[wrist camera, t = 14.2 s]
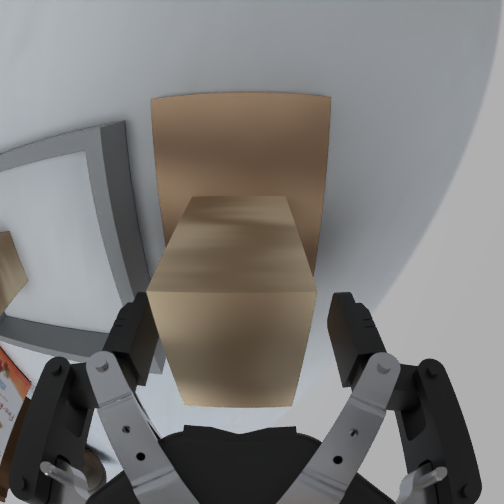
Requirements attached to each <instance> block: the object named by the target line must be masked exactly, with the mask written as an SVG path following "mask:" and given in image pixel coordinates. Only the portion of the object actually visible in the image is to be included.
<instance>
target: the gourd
mask: <svg viewBox="0 0 504 504" xmlns="http://www.w3.org/2000/svg"><path fill="white" fill-rule="evenodd" d="M81 472H82V473H83V474H84V476H85V478H86V480H87V485H88V494H89V496H91V495H92V494H93V493H95V492H96V491H97V490H99V489H100V488H101V487H103V486H104V485H105V484H106V471H105V468H104V467H103V465H102V463H101V461H100V460H99V459H98V458H97V456H95V455H94V454H93V453H92V452H91V451H89V450H88V449H86V448H85V451H84V456H83V461H82V467H81Z"/></svg>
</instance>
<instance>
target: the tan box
mask: <svg viewBox="0 0 504 504" xmlns="http://www.w3.org/2000/svg"><path fill="white" fill-rule="evenodd" d="M146 292H147V296H148V300H149V303H150V307H151V310H152V314H153V317H154V320H155V324H156V327H157V330H158V333H159V336H160V339H161V342H162V345H163V348H164V351H165V354H166V357H167V360H168V363H169V366H170V368H171V371H172V374H173V377H174V379H175V382H176V384H177V387H178V390H179V392H180V395H181V397H182V400H183V402H184V405H190V406H205V407H231V408H260V407H286V406H292V404H293V400H294V397H295V393H296V389H297V385H298V381H299V377H300V372H301V368H302V364H303V360H304V355H305V351H306V346H307V342H308V337H309V332H310V327H311V322H312V317H313V312H314V307H315V302H316V296H317V289H316V286H315V282H314V279H313V276H312V273H311V270H310V267H309V264H308V261H307V257H306V254H305V251H304V248H303V245H302V242H301V239H300V236H299V233H298V231H297V228H296V225H295V222H294V219H293V216H292V213H291V210H290V208H289V205H288V202H287V199H286V196H202V197H192V198H191V199H190V201H189V203H188V205H187V207H186V209H185V211H184V213H183V215H182V217H181V219H180V221H179V223H178V225H177V227H176V229H175V231H174V233H173V235H172V237H171V239H170V241H169V243H168V245H167V247H166V249H165V251H164V253H163V255H162V257H161V260H160V262H159V264H158V266H157V268H156V270H155V273H154V275H153V277H152V279H151V281H150V284H149V286H148V288H147V290H146Z"/></svg>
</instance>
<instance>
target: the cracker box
mask: <svg viewBox="0 0 504 504" xmlns="http://www.w3.org/2000/svg"><path fill="white" fill-rule="evenodd" d="M30 386H31V383H30V382H29V381H28V380H27V379H26V377H25V376H24V375H23V374H22V373H21V372H20V371H19V370H18V368H17V367H16V366H15V365H14V364H13V363H12V361H11V360H10V359H9V358H8V357H7V355H6V354H5V353H4V352H3V350H2V349H1V348H0V464H1V460H2V457H3V454H4V451H5V448H6V445H7V442H8V439H9V436H10V434H11V431H12V428H13V426H14V423H15V421H16V418H17V416H18V413H19V411H20V408H21V406H22V404H23V401H24V399H25V397H26V395H27V392H28V390H29V388H30Z"/></svg>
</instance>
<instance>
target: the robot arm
mask: <svg viewBox="0 0 504 504" xmlns="http://www.w3.org/2000/svg"><path fill="white" fill-rule="evenodd" d="M327 327H328V332H329V336H330V339H331V343H332V347H333V351H334V355H335V358H336V362H337V366H338V370H339V374H340V378H341V382H342V386H343V387H351V389H352V394H351V396H350V397H349V399H348V401H347V403H346V404H345V406H344V408H343V410H342V412H341V413H340V415H339V417H338V418H337V420H336V421H335V423H334V425H333V426H332V428H331V430H330V432H329V433H328V434H327V436H326V437H325V439H324V440H323V442H321V441H319V440H317V439H315V438H313V437H311V436H308V435H305V434H301V433H297V432H296V426H293V427H277V428H275V427H274V428H265V429H261V430H257V431H253V432H249V433H244V434H235V433H231V432H228V431H224V430H220V429H216V428H213V427H203V426H191V425H184V430H183V431H182V432H177V433H173V434H170V435H168V436H166V437H164V438H162V437H161V436H160V434H159V433H158V431H157V430H156V428H155V427H154V425H153V423H152V422H151V420H150V418H149V416H148V415H147V413H146V411H145V409H144V407H143V405H142V404H141V402H140V400H139V398H138V396H137V394H136V392H135V391H136V387H137V385H141V386H146V382H147V378H148V374H149V371H150V367H151V363H152V360H153V356H154V353H155V349H156V346H157V342H158V339H159V333H158V330H157V327H156V324H155V320H154V317H153V314H152V310H151V307H150V303H149V300H148V296H147V292H138V293H137V294H136V296H135V299H134V301H133V302H128V303H127V304H126V305H125V306H124V307H123V308H121V309H120V311H119V314H118V316H117V319H116V320H115V322H114V324H113V326H112V329H111V331H110V333H109V335H108V338H107V340H106V342H105V344H104V347H103V349H102V351H100V352H97V353H95V354H93V355H92V356H91V357H90V358H89V359H88V361H87V362H85V363H77V364H70V363H69V361H68V360H67V359H66V358H64V357H60V356H59V357H54V358H52V359H50V360H49V361H48V362H47V363H46V365H45V367H44V369H43V371H42V374H41V376H40V379H39V381H38V383H37V386H36V388H35V391H34V394H33V396H32V399H31V401H30V404H29V407H28V410H27V413H26V416H25V419H24V422H23V425H22V428H21V431H20V434H19V438H18V441H17V445H16V448H15V452H14V456H13V460H12V464H11V468H10V473H9V478H8V482H9V487H10V489H11V491H12V493H13V494H14V495H15V496H16V497H17V498H18V499H20V500H22V501H25V502H27V503H29V504H474V503H475V502H476V501H477V500H478V498H479V496H480V494H481V490H482V483H481V479H480V474H479V469H478V465H477V461H476V457H475V454H474V450H473V446H472V443H471V439H470V436H469V432H468V429H467V426H466V423H465V420H464V417H463V414H462V411H461V408H460V406H459V403H458V400H457V397H456V395H455V392H454V390H453V387H452V385H451V382H450V379H449V377H448V375H447V373H446V370H445V368H444V366H443V365H442V364H441V363H440V362H439V361H437V360H434V359H425V360H423V361H422V362H421V363H420V364H419V366H412V365H404V364H400V363H399V362H398V360H397V359H396V358H395V357H394V356H393V355H391V354H389V353H387V352H386V349H385V347H384V344H383V342H382V340H381V337H380V335H379V333H378V330H377V328H376V327H375V324H374V321H373V320H372V316H371V314H370V312H369V310H368V309H367V308H366V307H365V306H364V305H363V304H362V303H355V300H354V298H353V296H352V294H351V293H350V292H340V293H334V294H333V297H332V301H331V306H330V310H329V314H328V319H327ZM94 408H97V411H98V415H99V417H100V420H101V422H102V425H103V427H104V429H105V432H106V434H107V436H108V438H109V441H110V443H111V445H112V447H113V449H114V451H115V454H116V456H117V458H118V460H119V462H120V464H121V465H122V467H123V469H124V470H123V471H122V472H120V473H119V474H118V475H117V476H115V477H114V478H113V479H112V480H110V481H109V482H108V483H106V484H105V485H104V486H103V487H101V488H100V489H99V490H97V491H96V492H95V493H93V494H92V495H91V496H89V494H88V485H87V480H86V478H85V476H84V474H83V473H82V472H81V467H82V461H83V456H84V451H85V446H86V442H87V437H88V433H89V428H90V424H91V420H92V416H93V412H94ZM386 410H394V411H395V415H396V419H397V423H398V427H399V432H400V437H401V442H402V446H403V451H404V456H405V462H406V467H407V473H408V475H406V476H405V477H404V479H403V480H402V482H401V484H400V493H399V497H398V499H397V501H396V502H394V501H393V500H392V499H391V498H389V497H388V496H387V495H385V494H384V493H383V492H381V491H380V490H379V489H378V488H376V487H375V486H374V485H372V484H371V483H370V482H369V481H367V480H366V479H365V478H364V477H362V476H361V475H360V474H359V473H357V471H358V469H359V467H360V465H361V463H362V462H363V460H364V458H365V456H366V454H367V453H368V451H369V449H370V447H371V445H372V443H373V441H374V439H375V436H376V435H377V433H378V430H379V428H380V426H381V424H382V422H383V420H384V417H385V415H386Z"/></svg>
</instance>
